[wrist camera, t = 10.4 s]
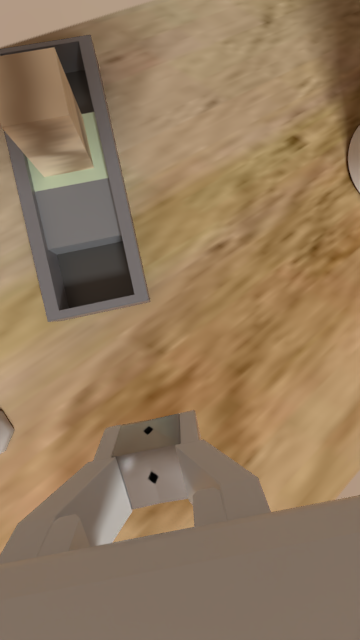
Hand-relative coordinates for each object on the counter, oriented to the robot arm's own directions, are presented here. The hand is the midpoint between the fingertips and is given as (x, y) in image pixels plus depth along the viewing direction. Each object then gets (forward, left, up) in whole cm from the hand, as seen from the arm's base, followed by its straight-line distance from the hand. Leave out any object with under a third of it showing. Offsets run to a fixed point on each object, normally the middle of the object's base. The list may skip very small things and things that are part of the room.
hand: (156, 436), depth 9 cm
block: (+6, -26, -26) cm, 37 cm away
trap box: (+6, -22, -29) cm, 37 cm away
